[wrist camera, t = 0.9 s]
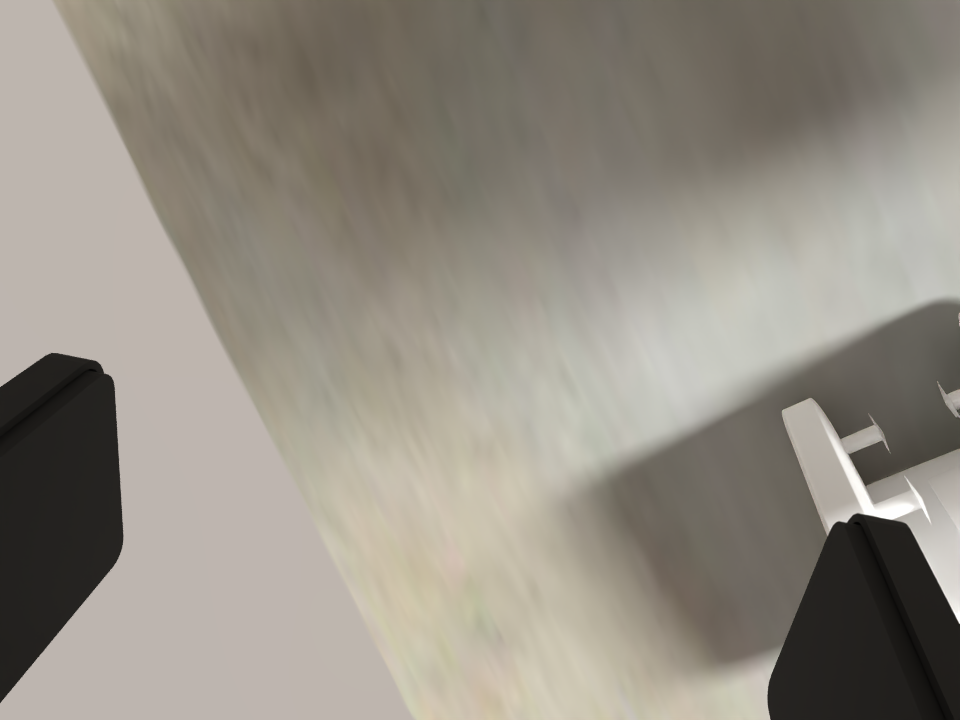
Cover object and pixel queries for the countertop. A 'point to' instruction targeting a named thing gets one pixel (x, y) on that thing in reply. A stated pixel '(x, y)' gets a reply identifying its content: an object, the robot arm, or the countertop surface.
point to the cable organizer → (883, 488)
